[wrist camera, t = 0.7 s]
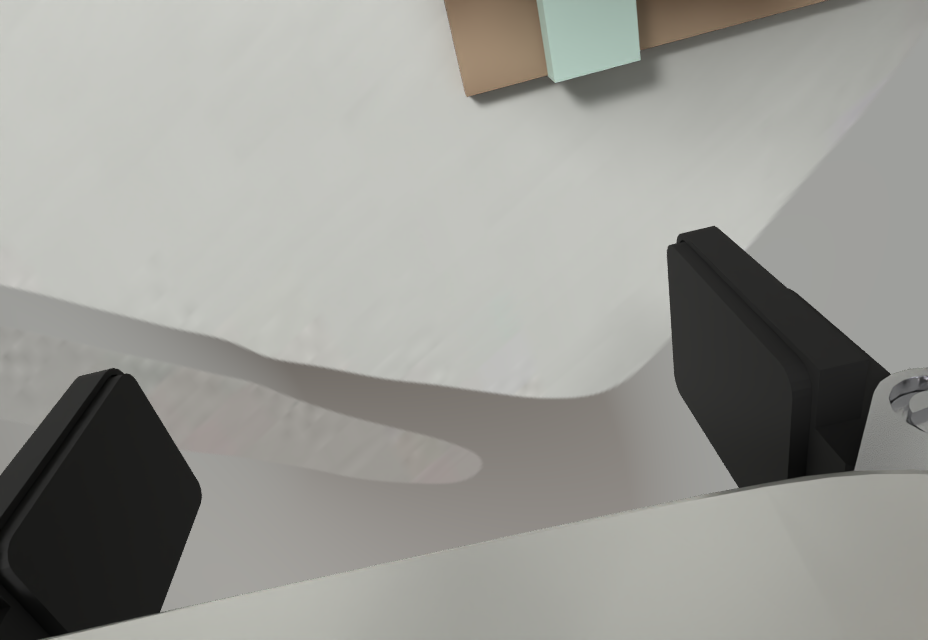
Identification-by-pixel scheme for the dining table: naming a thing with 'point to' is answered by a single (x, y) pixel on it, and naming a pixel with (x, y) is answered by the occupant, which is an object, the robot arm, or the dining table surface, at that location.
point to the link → (587, 36)
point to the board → (521, 45)
